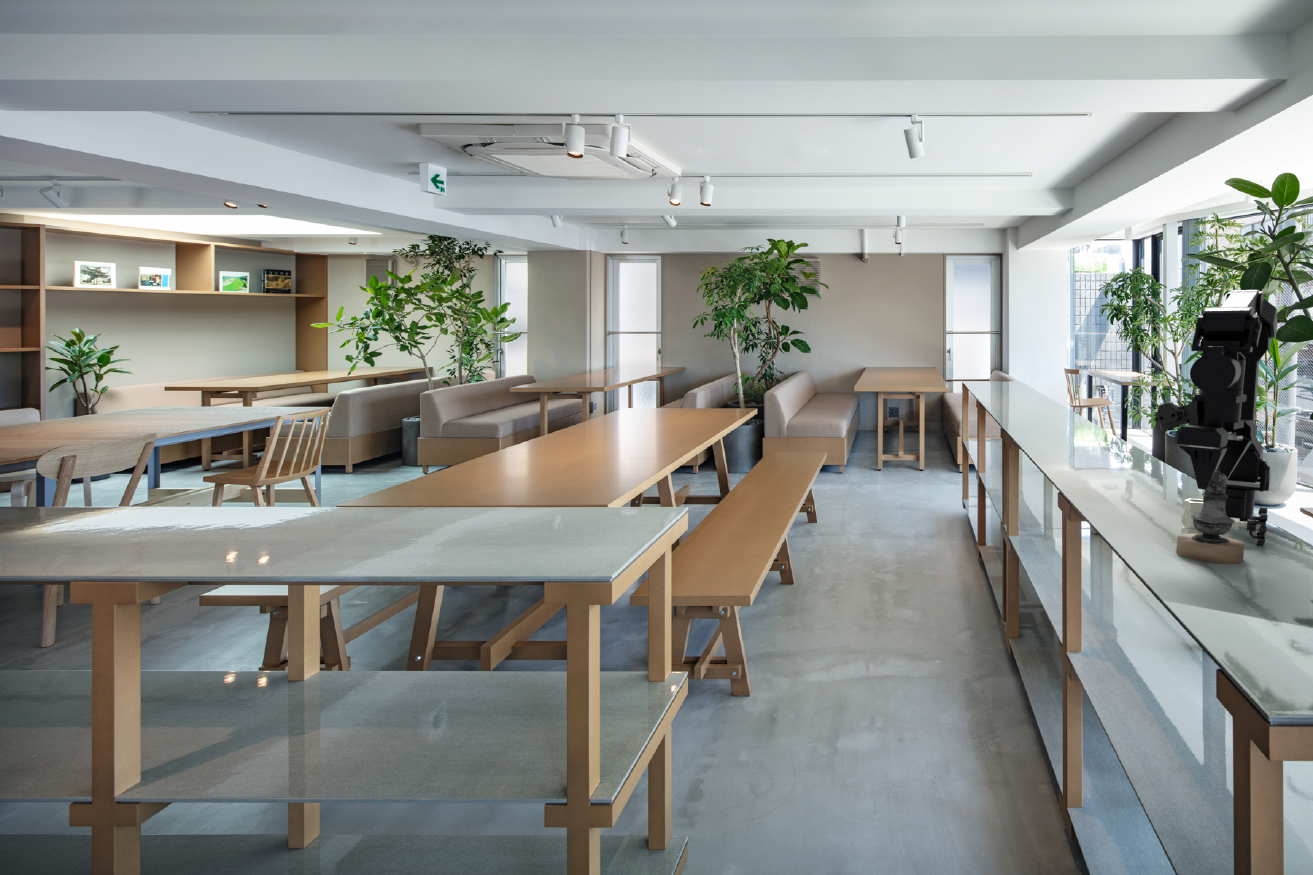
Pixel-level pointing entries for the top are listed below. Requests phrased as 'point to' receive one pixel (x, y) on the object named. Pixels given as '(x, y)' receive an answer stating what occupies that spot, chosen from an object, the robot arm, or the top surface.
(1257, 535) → the valve
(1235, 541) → the tan round disc
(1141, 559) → the top surface
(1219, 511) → the salt shaker
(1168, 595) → the top surface
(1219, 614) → the top surface
